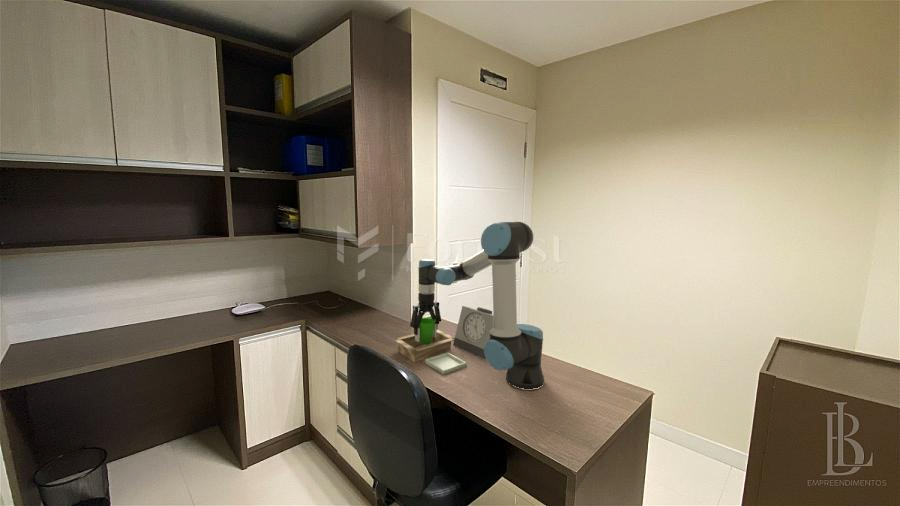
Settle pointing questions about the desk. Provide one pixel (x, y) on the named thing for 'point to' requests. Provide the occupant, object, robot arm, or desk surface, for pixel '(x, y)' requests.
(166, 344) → the desk surface
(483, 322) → the alarm clock
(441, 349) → the wooden box
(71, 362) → the desk surface
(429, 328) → the cup
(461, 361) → the tray
